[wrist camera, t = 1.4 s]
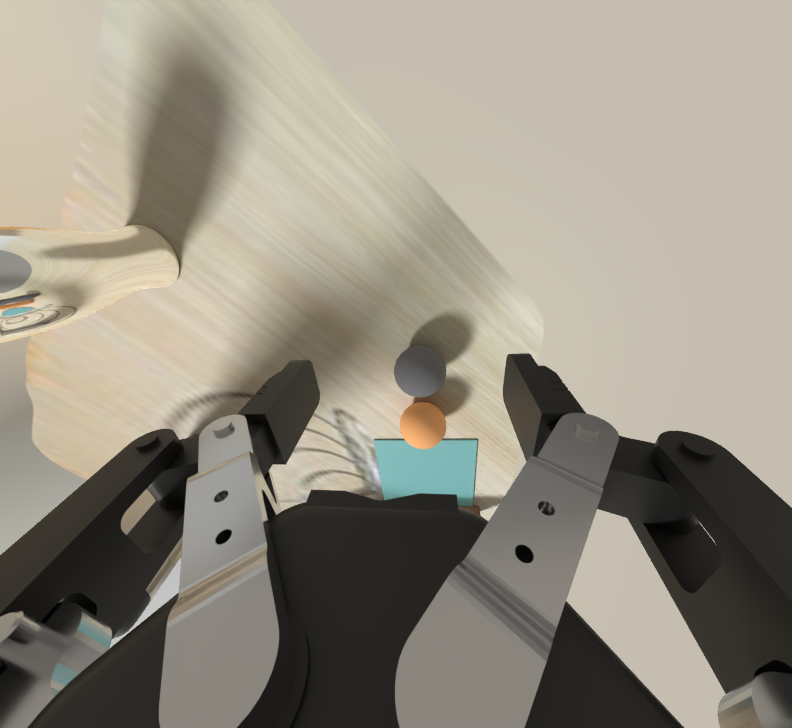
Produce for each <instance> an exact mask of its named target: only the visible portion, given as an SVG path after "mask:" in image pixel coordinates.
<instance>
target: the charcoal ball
mask: <svg viewBox="0 0 792 728" xmlns="http://www.w3.org/2000/svg"><path fill="white" fill-rule="evenodd" d="M394 375H395V379H396V382H397V384H398V386H399V387H400V388H401V389H402V390H403V391H404V392H405V393H407V394H409V395H411V396H414V397H427V396H430V395H432V394H434V393H435V392H437V391H438V390H439V389H440V388H441V386H442V385H443V383H444V380H445V377H446V366H445V363H444V360H443V359H442V357H441V356H440V354H439V353H438V352H437V351H435V350H434V349H432V348H430V347H427V346H414V347H410V348H408V349H407V350H405V351H404V352H403V353H401V355H400V356H399V357H398V359H397V361H396V364H395V368H394Z"/></svg>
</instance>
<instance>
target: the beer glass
mask: <svg viewBox="0 0 792 728" xmlns="http://www.w3.org/2000/svg"><path fill="white" fill-rule="evenodd" d="M178 275H179V262H178V258H177V256H176V253H175V252H174V250H173V248H172V247H171V245H170V244H169V243H168V241H167V240H166V239H165V238H164V237H163V236H161V235H160V234H159V233H158V232H156V231H155V230H153V229H151V228H149V227H146V226H142V225H129V226H125V227H122V228H119V229H116V230H112V231H108V232H80V231H70V230H59V229H47V228H34V227H13V226H10V227H0V343H2V342H7V341H11V340H14V339H19V338H23V337H27V336H30V335H34V334H38V333H42V332H45V331H48V330H51V329H55V328H58V327H61V326H64V325H67V324H69V323H72V322H75V321H78V320H80V319H83V318H85V317H87V316H89V315H91V314H93V313H95V312H97V311H99V310H101V309H103V308H105V307H106V306H108V305H110V304H112V303H114V302H115V301H117V300H119V299H121V298H122V297H124V296H126V295H128V294H130V293H133V292H135V291H138V290H142V289H149V288H161V287H166V286H169V285H171V284H173V283H174V282H175V281H176V280H177V278H178Z"/></svg>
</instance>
